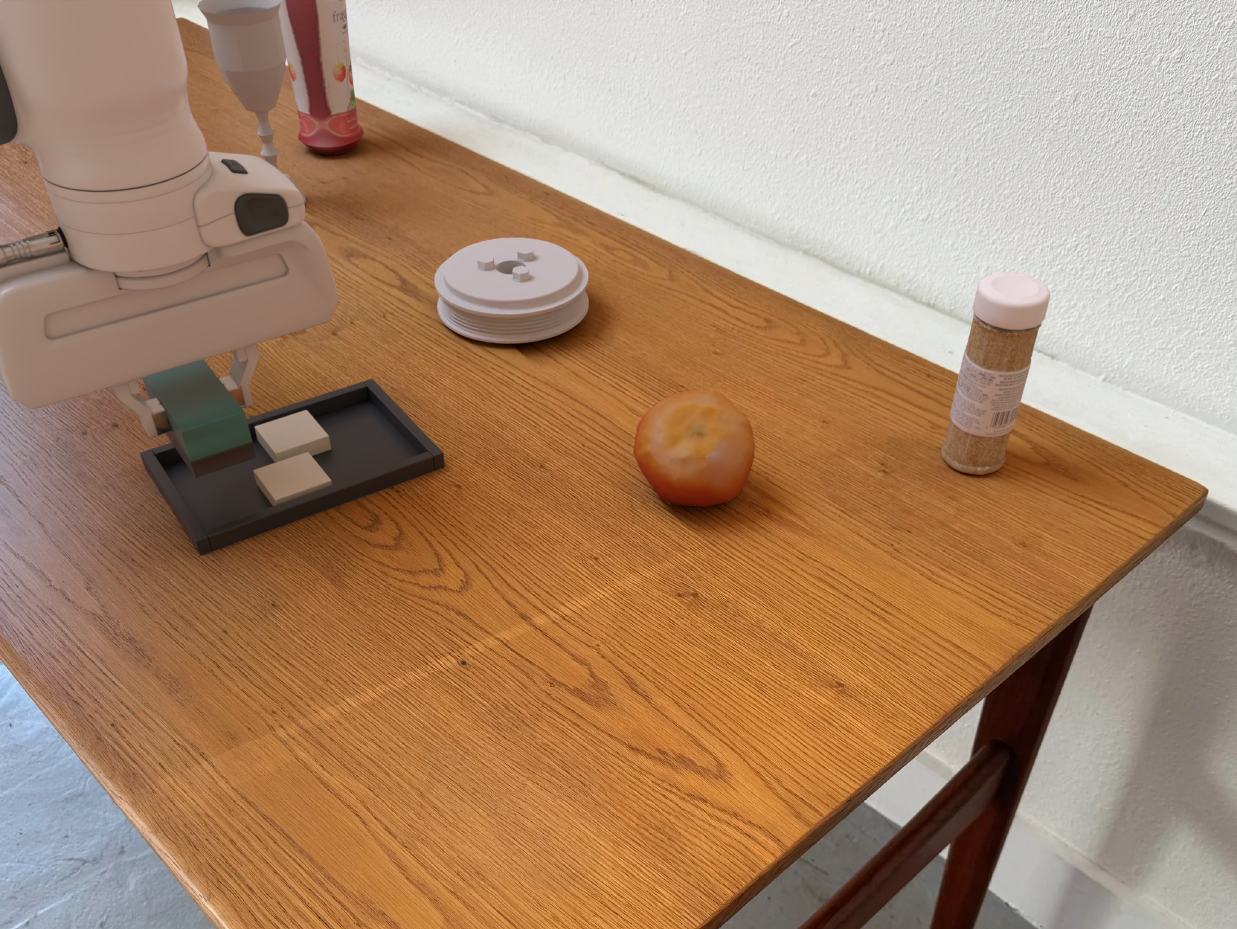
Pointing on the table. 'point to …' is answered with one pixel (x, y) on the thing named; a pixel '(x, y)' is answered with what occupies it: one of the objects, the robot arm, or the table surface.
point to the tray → (356, 464)
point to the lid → (512, 290)
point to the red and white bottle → (321, 73)
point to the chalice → (250, 58)
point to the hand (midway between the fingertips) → (199, 417)
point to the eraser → (202, 418)
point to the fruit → (695, 448)
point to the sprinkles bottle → (994, 370)
